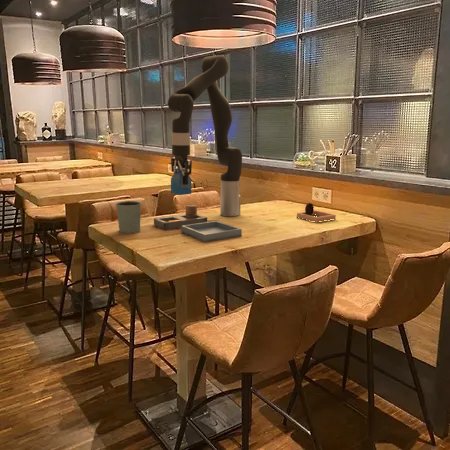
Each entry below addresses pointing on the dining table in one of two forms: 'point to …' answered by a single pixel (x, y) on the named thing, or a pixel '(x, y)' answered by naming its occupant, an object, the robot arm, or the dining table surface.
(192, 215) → the walnut peg
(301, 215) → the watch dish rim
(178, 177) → the perfume bottle
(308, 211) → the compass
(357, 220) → the dining table surface
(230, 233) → the tray
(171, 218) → the slot holder
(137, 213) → the grey cup
